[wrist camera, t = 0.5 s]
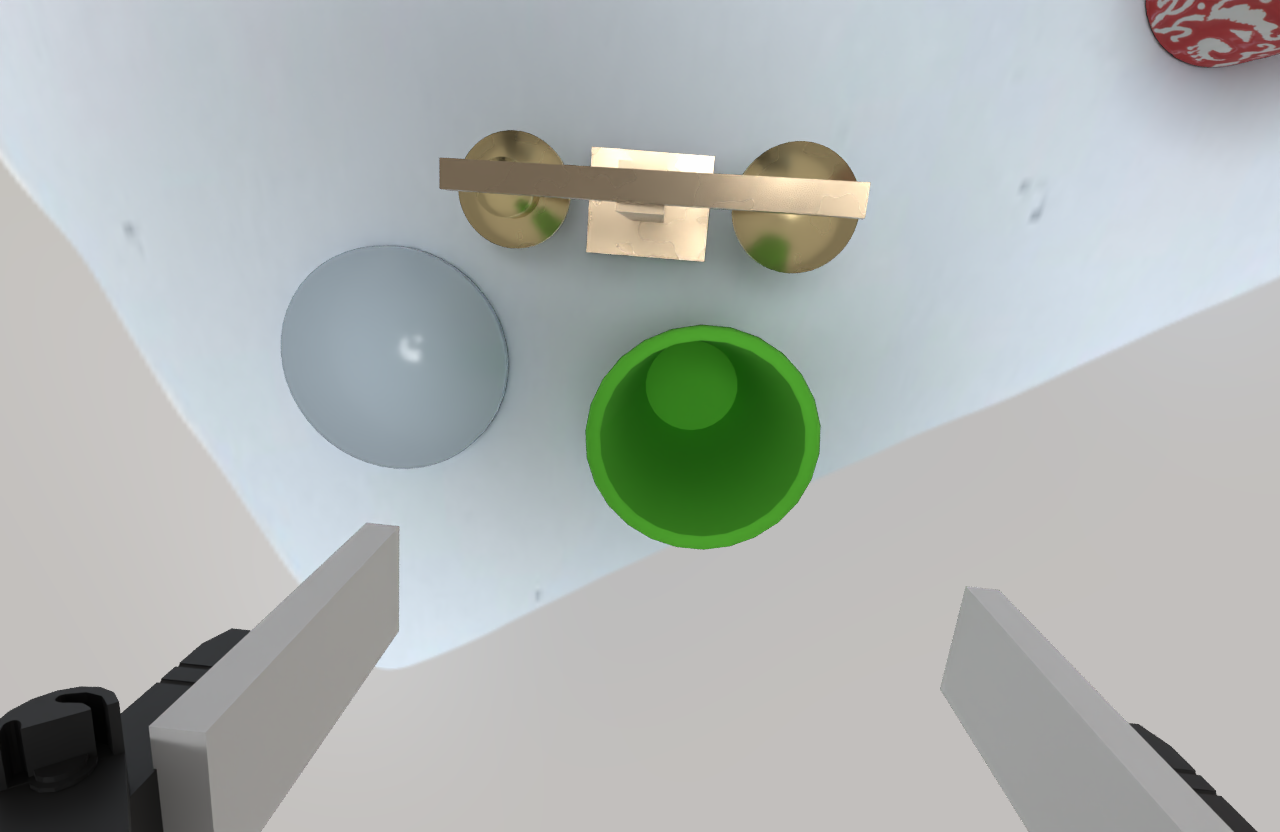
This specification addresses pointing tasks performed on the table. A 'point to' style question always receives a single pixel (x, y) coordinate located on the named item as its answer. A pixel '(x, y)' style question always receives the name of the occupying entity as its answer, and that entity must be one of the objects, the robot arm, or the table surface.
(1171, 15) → the mug
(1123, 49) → the table surface
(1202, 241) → the table surface
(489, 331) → the dish
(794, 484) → the cup
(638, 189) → the balance
